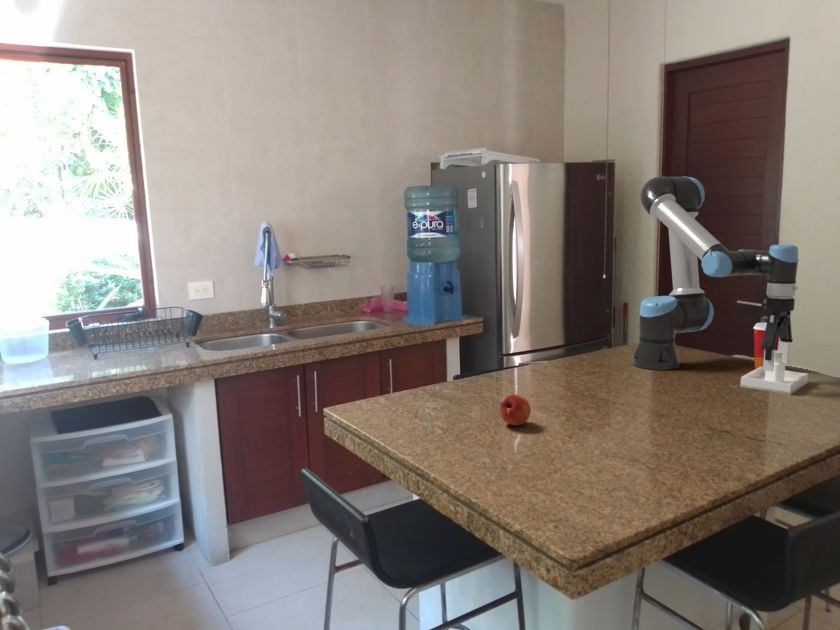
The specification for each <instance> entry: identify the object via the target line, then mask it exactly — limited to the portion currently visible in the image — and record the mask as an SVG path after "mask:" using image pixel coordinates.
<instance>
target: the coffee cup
mask: <svg viewBox="0 0 840 630" xmlns="http://www.w3.org/2000/svg"><path fill="white" fill-rule="evenodd" d="M766 325H767V322H757V323H755V324H754V326H753V330H754V347H753V349H754V352H753V353H754V357H753V358H754V360H753V361H754V369H757V368H759V367H763V361H764V349H761V346H762V343H763V339H764V334H765V329H766ZM779 342H780V337H779V333H778V337H777V340H776V343H775V346H774V350H775V351H778V346H779Z"/></svg>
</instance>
